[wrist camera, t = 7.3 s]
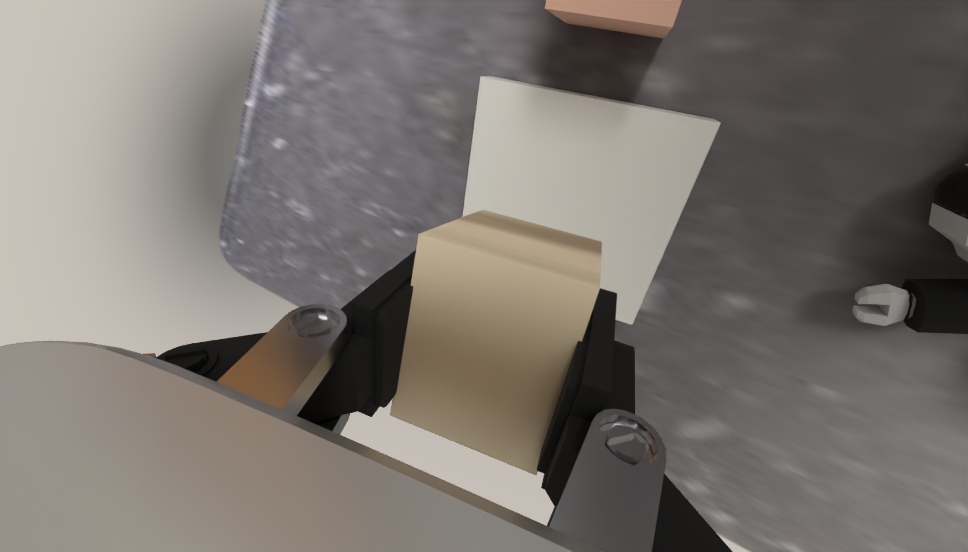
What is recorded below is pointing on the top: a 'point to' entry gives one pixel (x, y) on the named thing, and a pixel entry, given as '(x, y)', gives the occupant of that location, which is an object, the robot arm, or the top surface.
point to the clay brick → (619, 15)
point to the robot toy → (928, 299)
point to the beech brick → (494, 331)
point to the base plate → (588, 173)
